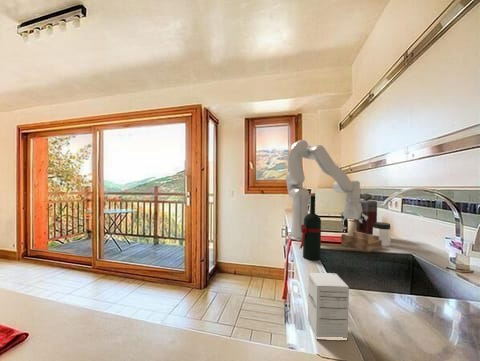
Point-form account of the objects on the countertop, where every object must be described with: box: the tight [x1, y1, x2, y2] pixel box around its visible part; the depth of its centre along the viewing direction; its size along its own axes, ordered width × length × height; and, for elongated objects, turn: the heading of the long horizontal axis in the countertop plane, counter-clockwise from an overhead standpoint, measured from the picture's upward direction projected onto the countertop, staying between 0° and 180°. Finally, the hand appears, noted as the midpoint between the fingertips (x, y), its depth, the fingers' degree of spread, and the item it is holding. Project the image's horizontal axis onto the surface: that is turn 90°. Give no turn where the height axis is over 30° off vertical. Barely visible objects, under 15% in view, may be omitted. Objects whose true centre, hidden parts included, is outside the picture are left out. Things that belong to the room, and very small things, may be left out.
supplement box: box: [307, 272, 350, 339], centre depth 55 cm, size 7×7×13 cm
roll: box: [347, 219, 357, 236], centre depth 143 cm, size 5×5×11 cm
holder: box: [340, 231, 383, 253], centre depth 127 cm, size 15×14×6 cm
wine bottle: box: [299, 192, 322, 262], centre depth 106 cm, size 8×10×30 cm
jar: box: [373, 221, 392, 248], centre depth 131 cm, size 9×8×12 cm
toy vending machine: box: [353, 192, 378, 235], centre depth 148 cm, size 9×11×28 cm
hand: (353, 228), depth 143 cm, fingers open, 9 cm apart
